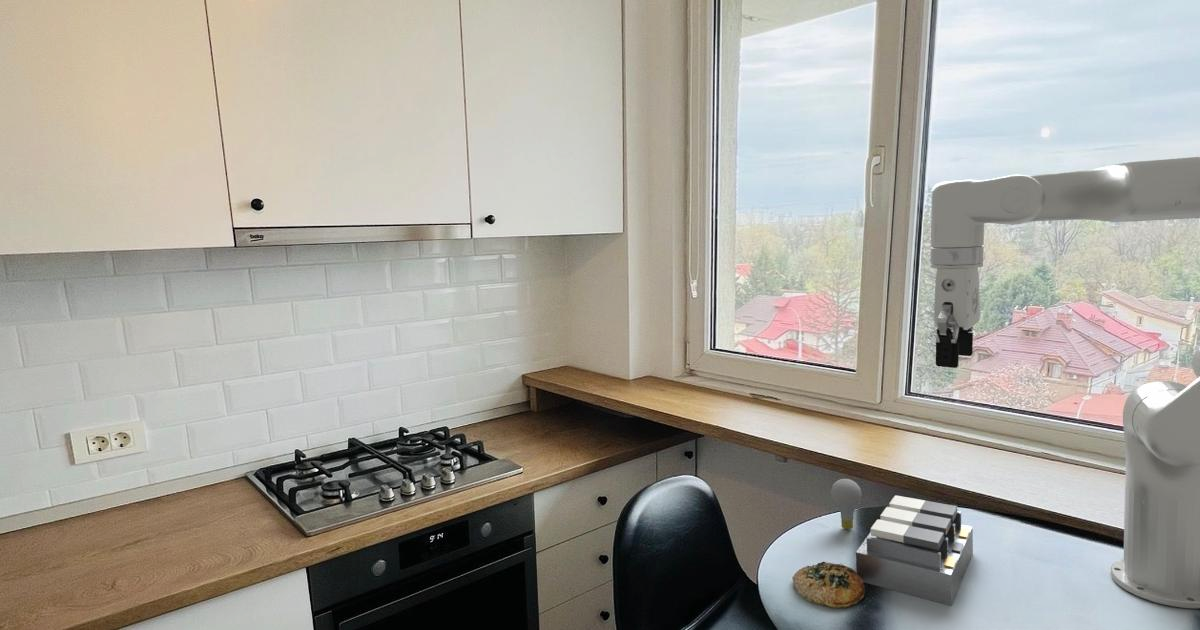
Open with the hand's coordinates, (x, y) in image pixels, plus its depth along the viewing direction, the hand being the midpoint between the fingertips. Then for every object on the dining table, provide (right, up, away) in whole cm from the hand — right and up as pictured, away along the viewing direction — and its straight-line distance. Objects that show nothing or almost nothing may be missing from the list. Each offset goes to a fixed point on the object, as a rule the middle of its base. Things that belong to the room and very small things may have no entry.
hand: (954, 360), depth 107 cm
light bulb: (-11, -34, +17) cm, 39 cm away
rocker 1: (-3, -26, +5) cm, 27 cm away
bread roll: (-22, -38, -2) cm, 44 cm away
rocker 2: (-6, -27, +1) cm, 28 cm away
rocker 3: (-9, -28, -3) cm, 30 cm away
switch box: (-5, -35, +2) cm, 36 cm away
